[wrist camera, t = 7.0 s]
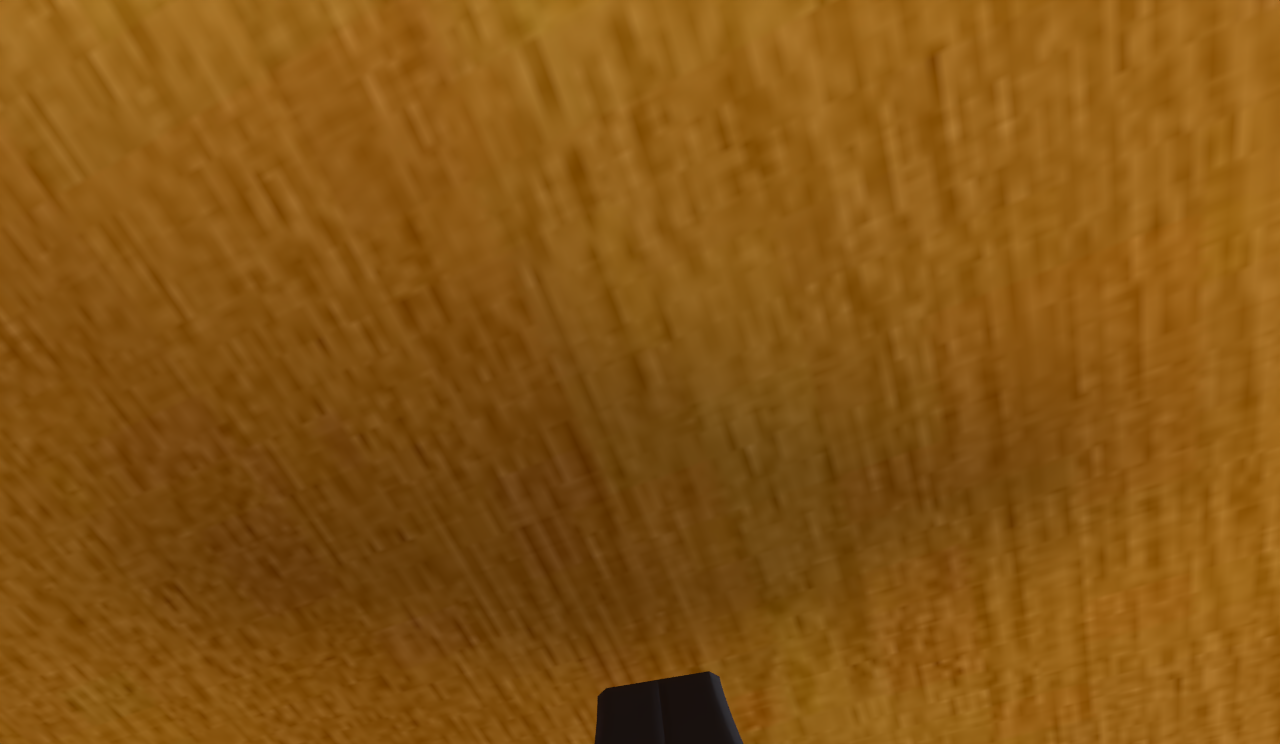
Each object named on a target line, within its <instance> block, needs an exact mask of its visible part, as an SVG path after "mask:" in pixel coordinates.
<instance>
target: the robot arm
mask: <svg viewBox="0 0 1280 744" xmlns="http://www.w3.org/2000/svg"><path fill="white" fill-rule="evenodd" d="M595 744H743V742H742V739H741V737H740V735H739V732H738V730H737V728H736V725H735V723H734V720H733V718H732V715H731V712H730V709H729V707H728V704H727V701H726V698H725V695H724V692H723V689H722V686H721V682H720V678H719V676H717V675H715V674H713V673H711V672H709V671H708V672H702V673H696V674H690V675H684V676H678V677H672V678H666V679H660V680H654V681H648V682H642V683H636V684H630V685H624V686H618V687H612V688H606V689H605V690H604V691H603V692H602V693H601V694H600V695H599V696H598V705H597V725H596V735H595Z"/></svg>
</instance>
